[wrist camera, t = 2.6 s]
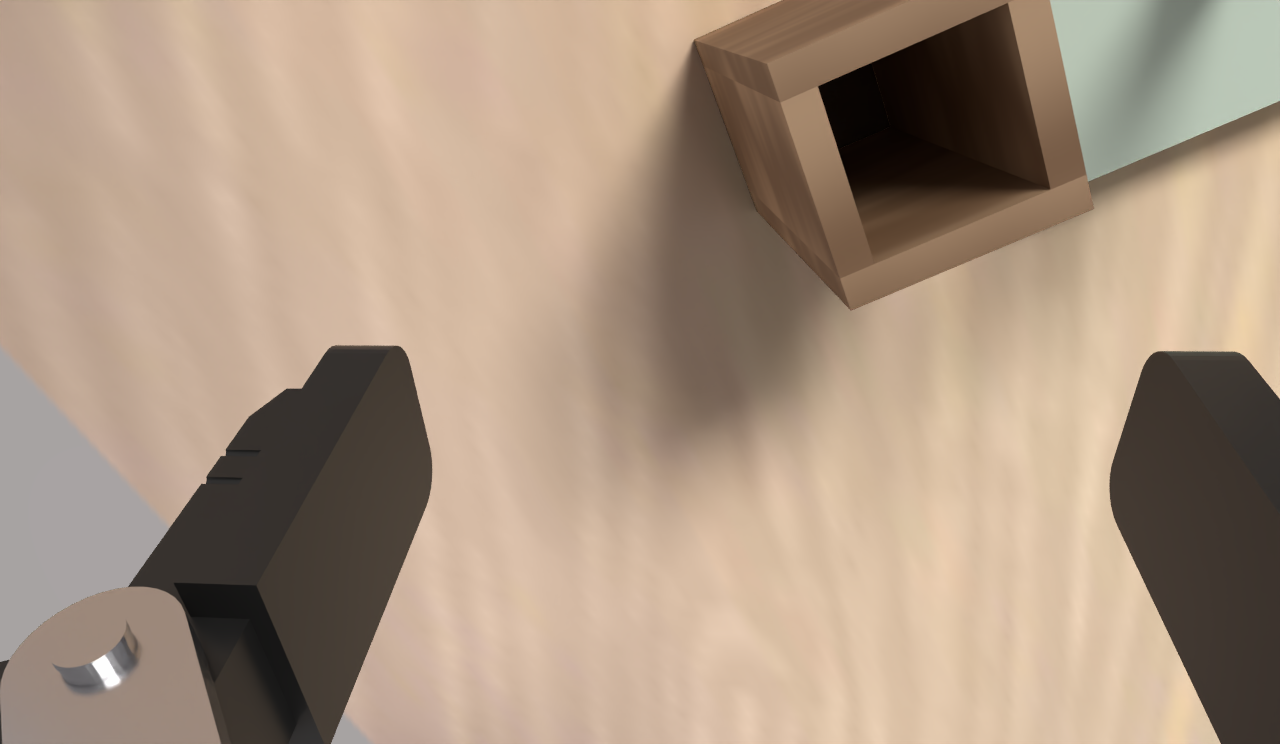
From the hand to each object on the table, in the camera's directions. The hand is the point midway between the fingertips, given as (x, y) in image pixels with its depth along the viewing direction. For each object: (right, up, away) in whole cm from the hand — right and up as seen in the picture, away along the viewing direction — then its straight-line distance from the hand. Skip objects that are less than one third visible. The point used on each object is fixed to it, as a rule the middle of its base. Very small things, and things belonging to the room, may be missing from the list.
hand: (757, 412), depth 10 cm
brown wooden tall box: (+4, +9, +18) cm, 20 cm away
